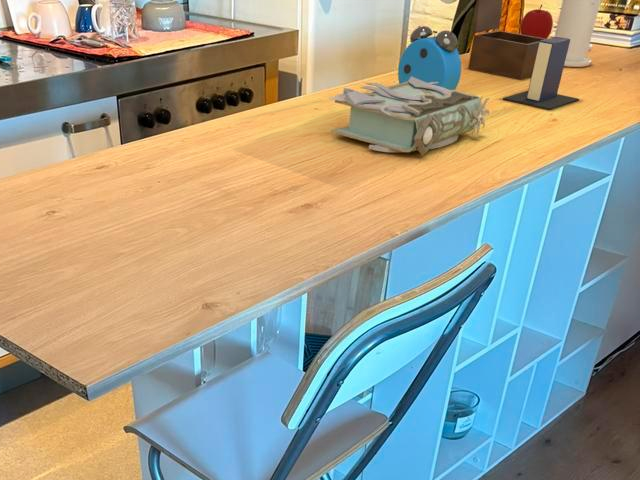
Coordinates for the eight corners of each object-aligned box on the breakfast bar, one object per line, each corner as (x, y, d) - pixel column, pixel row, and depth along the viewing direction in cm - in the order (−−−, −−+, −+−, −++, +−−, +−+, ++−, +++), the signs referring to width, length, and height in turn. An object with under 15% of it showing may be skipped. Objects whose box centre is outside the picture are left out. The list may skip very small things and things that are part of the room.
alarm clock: (455, 108, 181) (469, 31, 171) (438, 113, 178) (451, 34, 168) (409, 96, 188) (420, 22, 178) (392, 100, 185) (402, 24, 175)
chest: (542, 73, 212) (550, 39, 207) (520, 79, 206) (527, 44, 201) (491, 63, 220) (497, 30, 215) (467, 68, 214) (473, 35, 209)
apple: (553, 43, 246) (562, 4, 240) (540, 46, 241) (548, 7, 234) (526, 38, 251) (534, 0, 244) (512, 42, 245) (519, 3, 239)
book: (543, 94, 193) (556, 36, 185) (556, 97, 191) (570, 38, 183) (525, 99, 188) (538, 40, 180) (539, 102, 186) (553, 43, 179)
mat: (533, 90, 197) (533, 88, 197) (578, 100, 191) (579, 98, 190) (502, 99, 189) (503, 97, 189) (549, 110, 183) (549, 108, 182)
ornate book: (413, 170, 149) (496, 133, 166) (420, 113, 143) (506, 81, 159) (317, 143, 160) (404, 111, 177) (320, 90, 154) (410, 62, 171)
